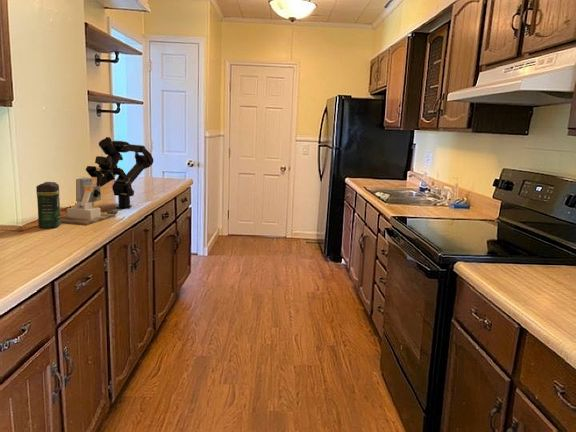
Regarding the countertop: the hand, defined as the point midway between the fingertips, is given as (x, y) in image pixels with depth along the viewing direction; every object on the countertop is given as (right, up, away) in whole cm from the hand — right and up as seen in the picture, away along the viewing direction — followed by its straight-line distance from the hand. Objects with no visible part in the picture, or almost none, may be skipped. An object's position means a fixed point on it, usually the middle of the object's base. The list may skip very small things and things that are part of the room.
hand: (98, 186), depth 212 cm
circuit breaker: (-14, -10, +18) cm, 25 cm away
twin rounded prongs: (0, -13, +5) cm, 14 cm away
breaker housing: (-3, -15, -8) cm, 18 cm away
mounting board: (-3, -15, -8) cm, 18 cm away
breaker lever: (-3, -10, -10) cm, 14 cm away
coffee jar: (-10, -19, -24) cm, 32 cm away
